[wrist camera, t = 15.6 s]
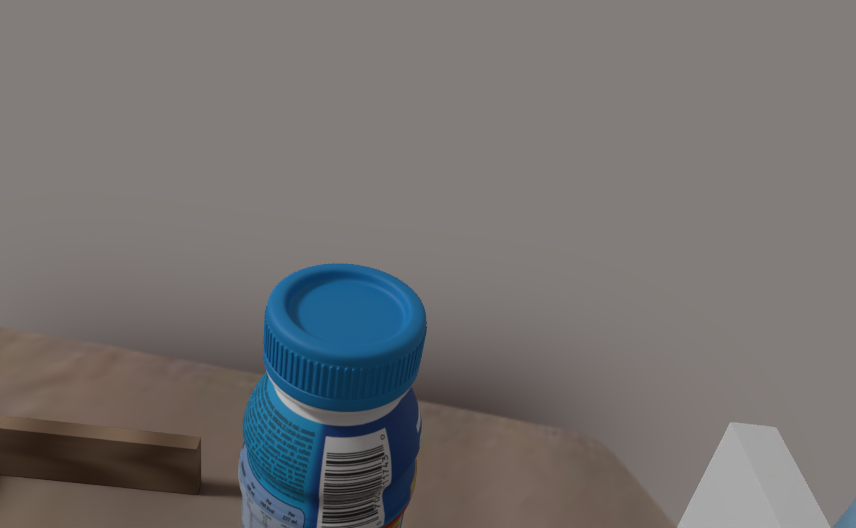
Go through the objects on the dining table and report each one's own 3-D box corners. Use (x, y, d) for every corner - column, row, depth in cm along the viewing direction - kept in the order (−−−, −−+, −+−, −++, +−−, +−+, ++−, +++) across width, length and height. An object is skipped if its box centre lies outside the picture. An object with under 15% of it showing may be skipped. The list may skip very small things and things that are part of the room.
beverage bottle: (202, 629, 39) (200, 323, 29) (284, 511, 46) (306, 230, 36) (349, 699, 37) (404, 401, 27) (411, 566, 44) (474, 286, 34)
